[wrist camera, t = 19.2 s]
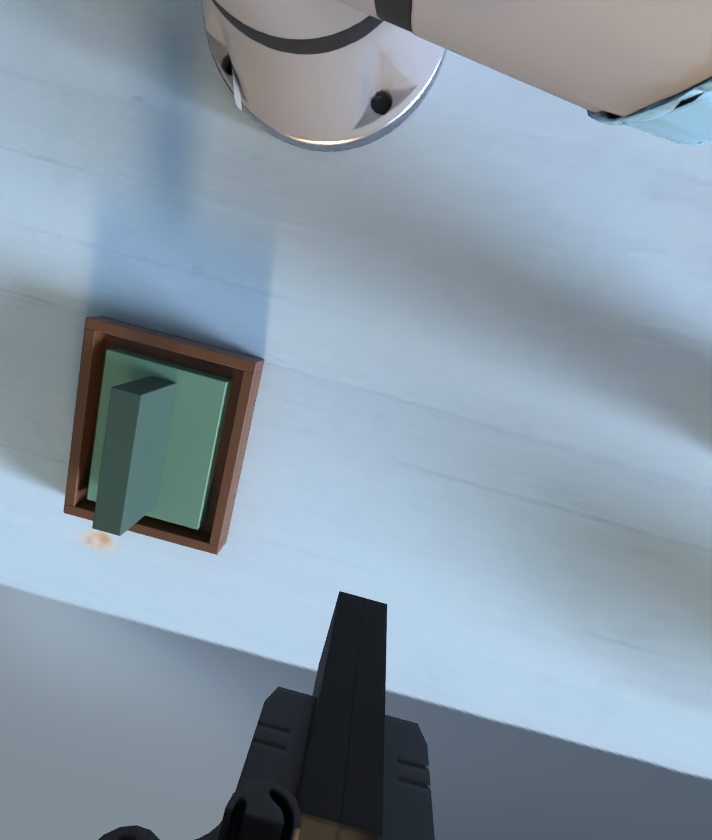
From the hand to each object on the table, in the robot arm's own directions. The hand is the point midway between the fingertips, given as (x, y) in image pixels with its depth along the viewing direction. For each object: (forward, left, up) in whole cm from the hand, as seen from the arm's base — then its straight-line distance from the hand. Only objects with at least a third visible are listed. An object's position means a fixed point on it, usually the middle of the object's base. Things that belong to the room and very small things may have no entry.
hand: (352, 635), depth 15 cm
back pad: (+4, -16, -22) cm, 27 cm away
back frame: (+4, -16, -22) cm, 28 cm away
